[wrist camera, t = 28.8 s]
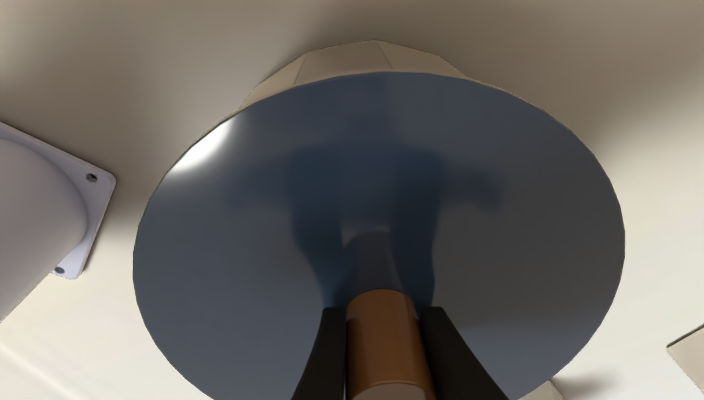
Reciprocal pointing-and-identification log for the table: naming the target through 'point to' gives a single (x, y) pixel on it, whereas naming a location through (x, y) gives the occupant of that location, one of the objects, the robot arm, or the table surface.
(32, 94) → the table surface
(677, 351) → the milk carton
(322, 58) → the pot
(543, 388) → the flask
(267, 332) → the lid
